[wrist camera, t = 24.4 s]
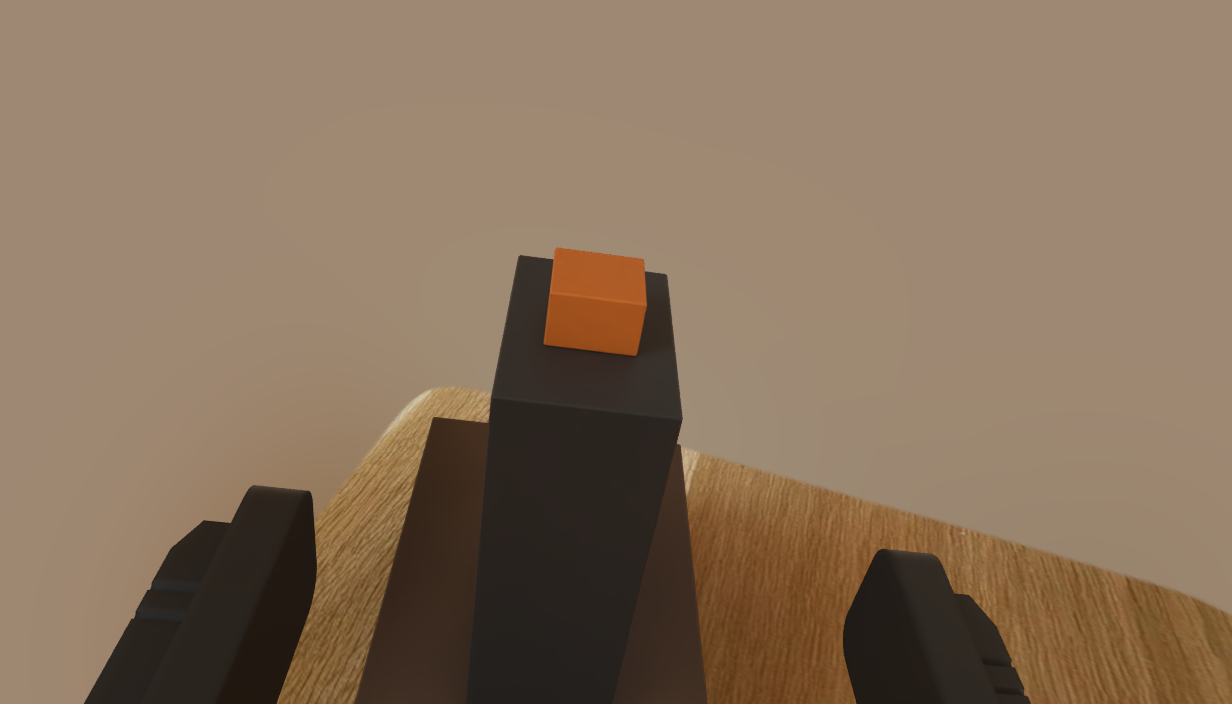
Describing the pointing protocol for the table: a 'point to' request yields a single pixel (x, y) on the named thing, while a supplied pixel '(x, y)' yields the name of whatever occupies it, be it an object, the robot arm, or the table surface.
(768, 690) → the table surface
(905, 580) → the robot arm
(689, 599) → the shoe shelf
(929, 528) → the table surface
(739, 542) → the table surface
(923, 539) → the table surface
